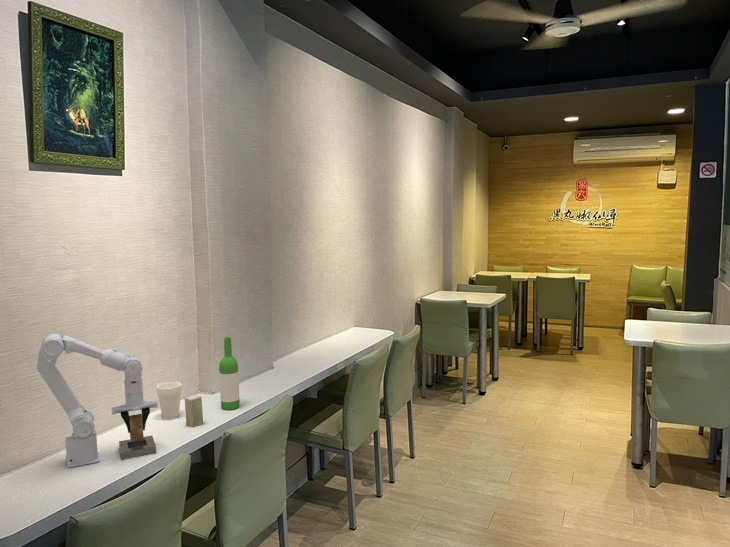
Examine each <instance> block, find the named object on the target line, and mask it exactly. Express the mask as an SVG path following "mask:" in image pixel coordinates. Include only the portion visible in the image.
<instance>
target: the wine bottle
mask: <svg viewBox="0 0 730 547" xmlns="http://www.w3.org/2000/svg"><path fill="white" fill-rule="evenodd" d="M223 351H224V357H223V358H221V360H220V362H219V365H218V366H219V390H220V392H219V394H220V407H221V409H223V410H226V411H227V410H228V411H230V410H231V411H232V410H236V409H237V408H239V407H240V404H241V402H240V381H239V364H238V360H237V359H236V358H235V357H234V356H233V353H232V352H233V351H232V338H231V337H223Z"/></svg>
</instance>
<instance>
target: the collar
mask: <svg viewBox="0 0 730 547" xmlns="http://www.w3.org/2000/svg"><path fill="white" fill-rule="evenodd" d="M118 448H119V453H120V460H121V461H123V460H128V459H132V458H133V459H134V458H140V457H144V455H145V456H150V455H154V454H157V446H156V443H155V439H154V437H153V435H146V436H144V440H139V441H134V442H131V439H130V438H129V439H125V440H119V441H118ZM149 454H150V455H149Z"/></svg>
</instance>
